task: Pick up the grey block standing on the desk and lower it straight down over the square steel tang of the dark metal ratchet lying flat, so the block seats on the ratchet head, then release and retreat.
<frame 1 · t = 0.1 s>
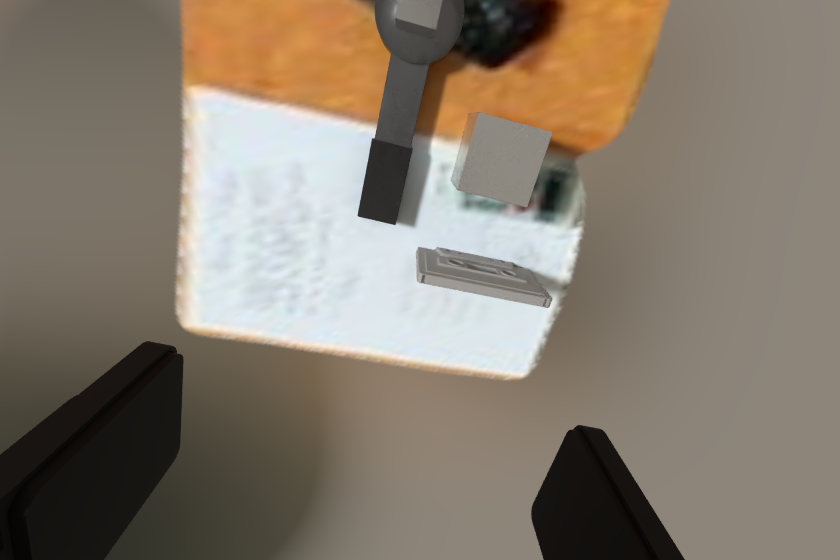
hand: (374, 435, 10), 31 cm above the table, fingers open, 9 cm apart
cassette: (473, 261, 41), on the table
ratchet: (403, 96, 35), on the table
grey block: (490, 156, 37), on the table
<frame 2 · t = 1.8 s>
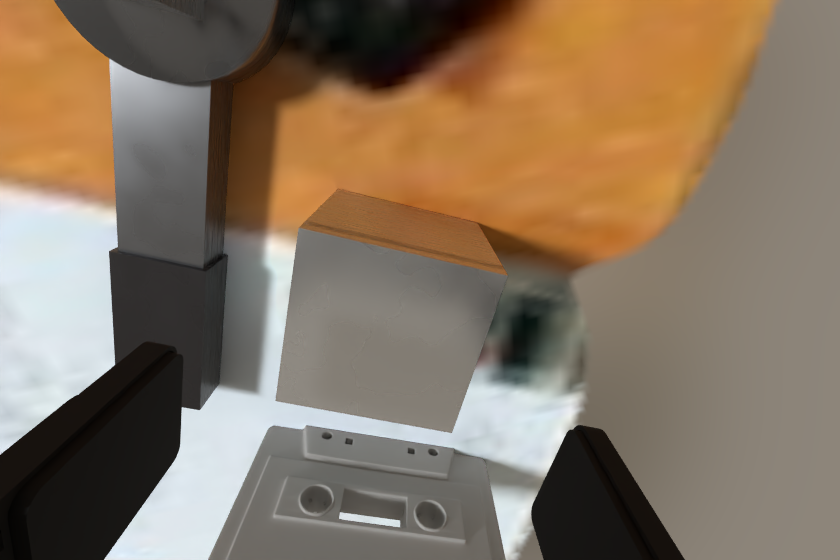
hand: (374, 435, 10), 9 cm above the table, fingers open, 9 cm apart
cassette: (379, 444, 22), on the table
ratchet: (187, 151, 16), on the table
grey block: (393, 270, 18), on the table
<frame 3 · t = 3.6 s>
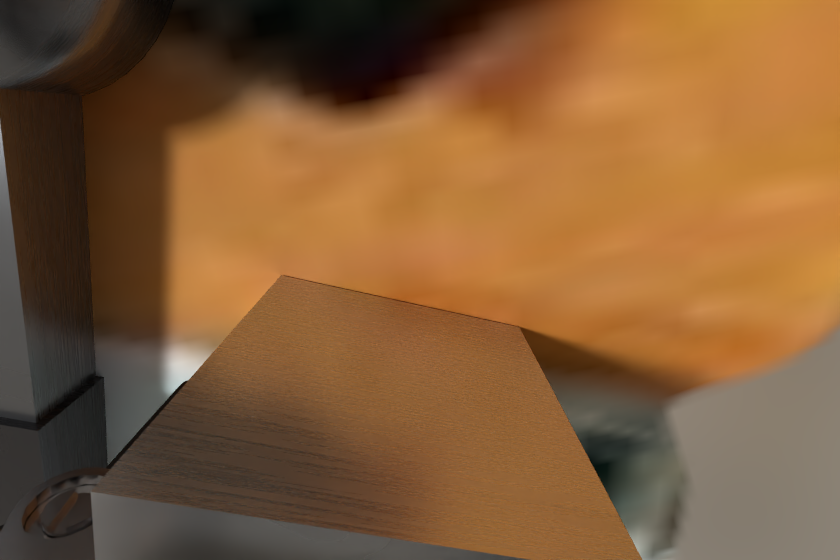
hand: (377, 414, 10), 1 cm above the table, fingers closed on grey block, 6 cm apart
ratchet: (14, 214, 9), on the table
grey block: (379, 399, 11), on the table, touching gripper
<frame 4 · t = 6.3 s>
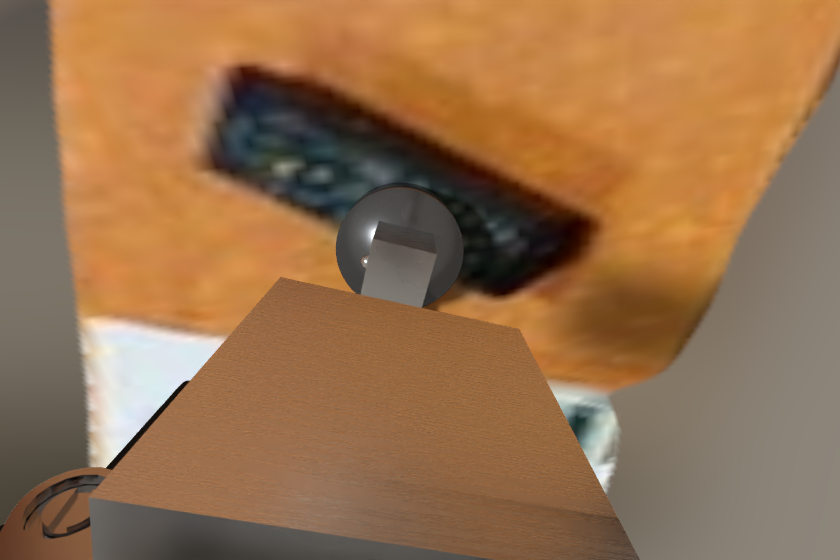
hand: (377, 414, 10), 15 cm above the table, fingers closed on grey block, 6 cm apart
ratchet: (379, 327, 26), on the table
grey block: (378, 401, 11), point 14 cm above the table, touching gripper
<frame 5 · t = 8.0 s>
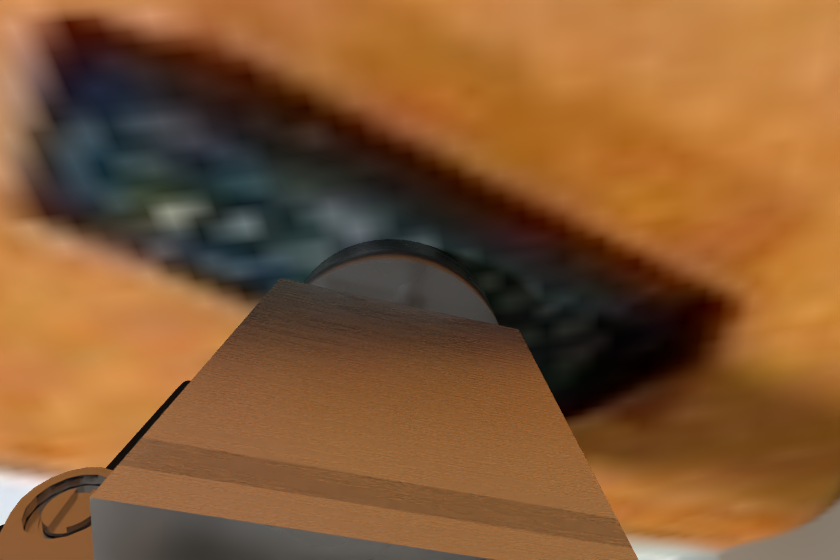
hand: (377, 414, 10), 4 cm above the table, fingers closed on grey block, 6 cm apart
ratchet: (358, 465, 16), on the table
grey block: (378, 402, 11), point 3 cm above the table, touching gripper
when the fingers open (3 cm above the table, at t = 9.2 s): grey block stays where it is, resting on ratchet.
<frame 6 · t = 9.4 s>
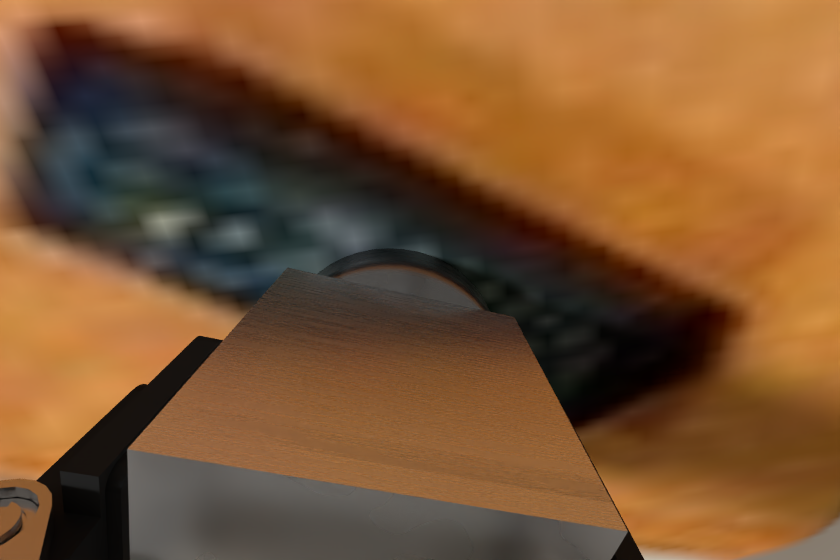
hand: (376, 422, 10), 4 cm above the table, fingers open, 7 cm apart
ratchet: (356, 478, 15), on the table, touching grey block
grey block: (380, 387, 11), point 2 cm above the table, touching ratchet
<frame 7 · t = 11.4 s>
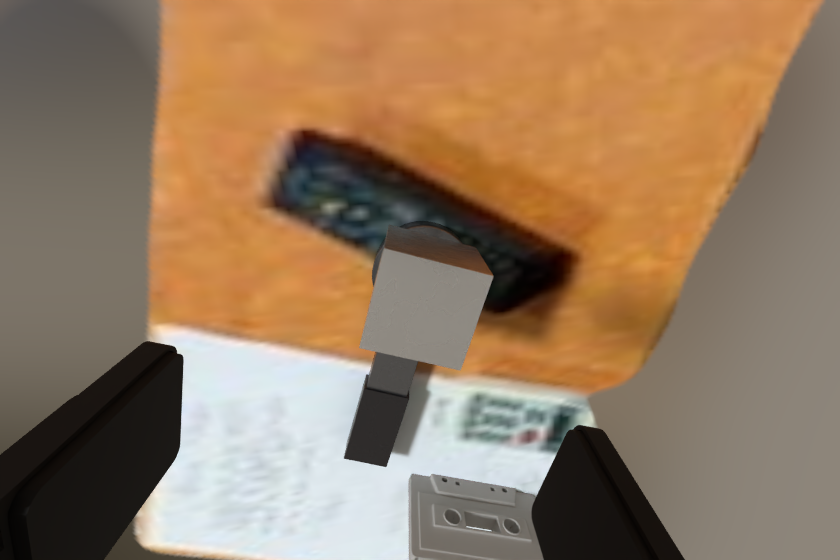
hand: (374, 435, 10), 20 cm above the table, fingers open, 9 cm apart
cassette: (471, 485, 37), on the table
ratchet: (400, 337, 31), on the table, touching grey block
grey block: (421, 277, 27), point 2 cm above the table, touching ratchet
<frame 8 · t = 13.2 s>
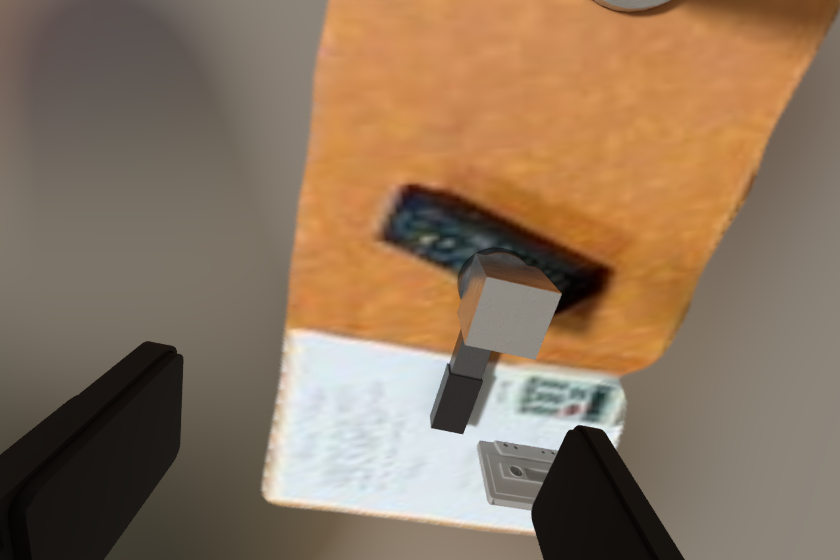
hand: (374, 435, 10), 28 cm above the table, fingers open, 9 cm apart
cassette: (525, 449, 47), on the table
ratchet: (474, 334, 41), on the table, touching grey block
grey block: (497, 290, 37), point 2 cm above the table, touching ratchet
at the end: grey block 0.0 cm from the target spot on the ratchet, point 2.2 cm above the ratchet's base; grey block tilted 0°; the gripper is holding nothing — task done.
